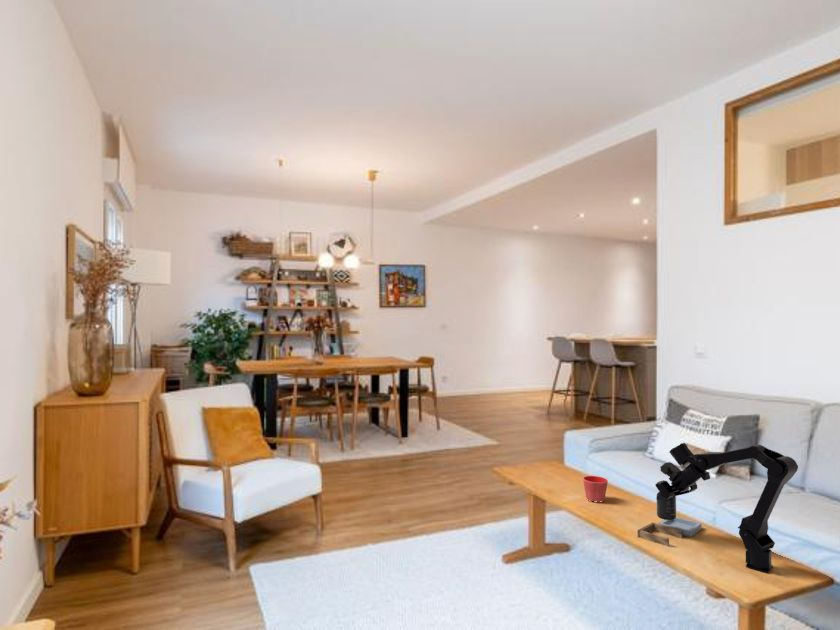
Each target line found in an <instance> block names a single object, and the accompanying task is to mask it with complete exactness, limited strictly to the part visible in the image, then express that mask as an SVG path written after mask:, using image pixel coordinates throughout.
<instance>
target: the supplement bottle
mask: <svg viewBox="0 0 840 630" xmlns="http://www.w3.org/2000/svg"><path fill="white" fill-rule="evenodd" d="M659 492H660V491H658V492H657V493H656V497H657V496H658V494H659ZM656 517H658V518H659V519H662V520H674V519H676V517H677V496H675V495H674V496H673V498H669V499H664V500H659V501H658V500H657V499H656Z"/></svg>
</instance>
